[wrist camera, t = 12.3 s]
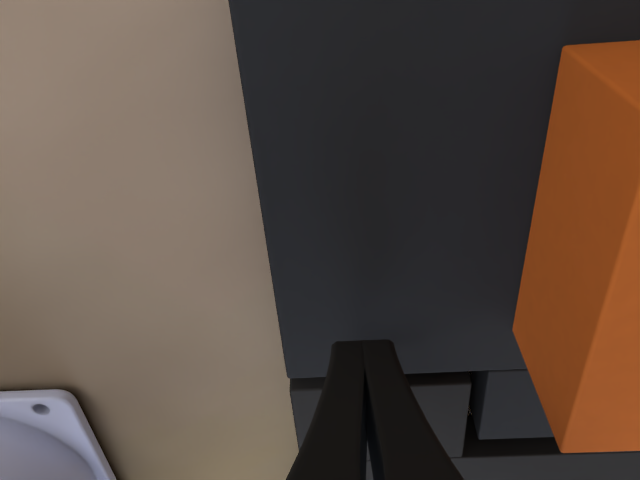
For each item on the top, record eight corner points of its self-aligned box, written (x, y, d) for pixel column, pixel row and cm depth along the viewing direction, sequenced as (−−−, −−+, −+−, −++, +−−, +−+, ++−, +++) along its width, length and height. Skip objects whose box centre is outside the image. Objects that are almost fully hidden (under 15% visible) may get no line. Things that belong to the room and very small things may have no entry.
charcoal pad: (299, 405, 18) (291, 569, 14) (236, -38, 10) (176, 30, 6) (745, 388, 17) (878, 556, 13) (1017, -98, 10) (1527, -68, 6)
